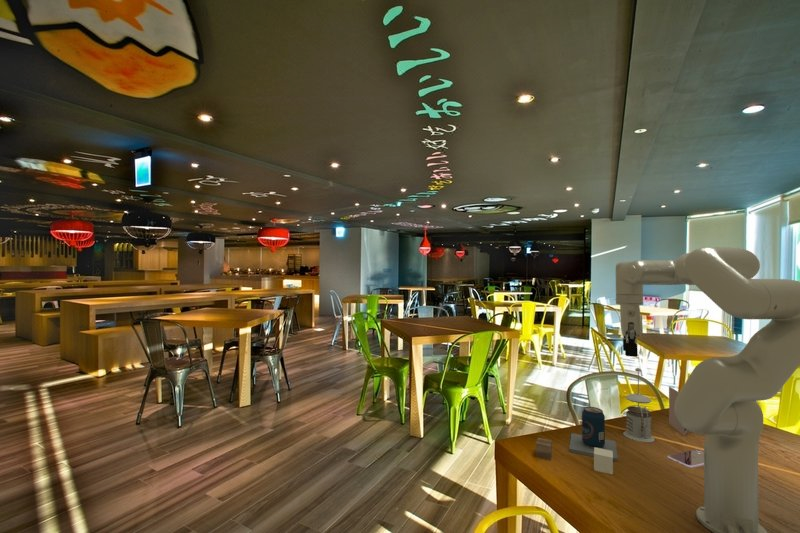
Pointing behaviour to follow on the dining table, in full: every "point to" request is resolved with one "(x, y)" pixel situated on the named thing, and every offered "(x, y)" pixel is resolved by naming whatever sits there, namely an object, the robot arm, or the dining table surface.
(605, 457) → the off-white block
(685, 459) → the mobile phone
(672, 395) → the greeting card
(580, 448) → the mat
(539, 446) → the walnut block
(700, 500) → the dining table surface
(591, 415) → the soda can
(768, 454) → the dining table surface
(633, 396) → the french press
